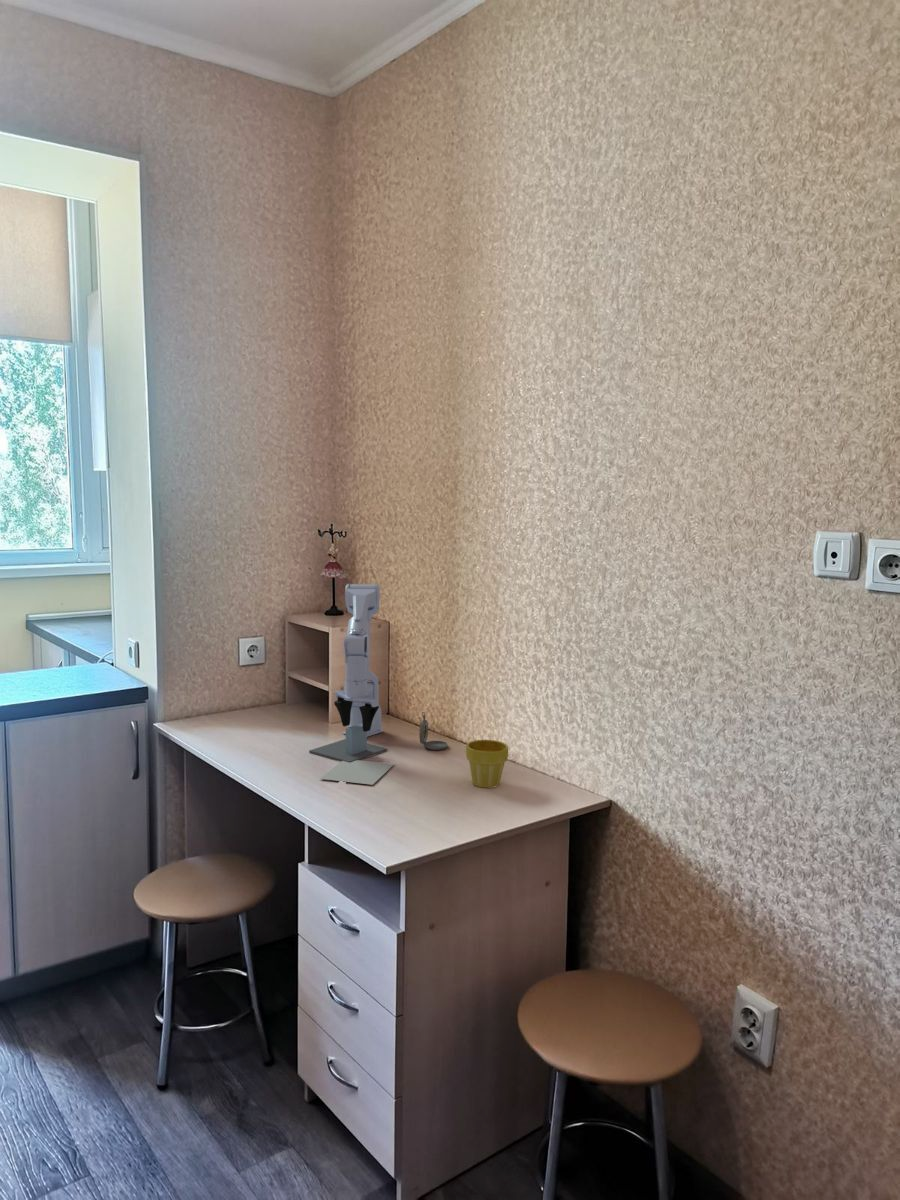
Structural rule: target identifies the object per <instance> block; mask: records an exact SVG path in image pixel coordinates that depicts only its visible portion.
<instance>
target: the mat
mask: <svg viewBox="0 0 900 1200" xmlns="http://www.w3.org/2000/svg"><path fill="white" fill-rule="evenodd" d="M386 750H387V751H388V747H383V746H380V745H376V744H371V743H368V742H367V750H365V751H362V752H359V753H356V754H353V755H350V754H346V738H344V739H341V740H338V741H334V742H332V743H331V742H330V743H329V744H326V745H321V746H319V747H315V748H313V749H310V750H309V751H308V752H309V754H312V753H313V755H316V756H321V757H324V758H328V759H330V760H334V759H335V760H334V761H337V760H338V762H341V761H346V762H352V761H355V760H361V759H362V760H364V759H367V758H369V756H370V757H372V755H373V756H375V755H374V754H376V755H378V754H380V752H381V753H383V751H384V752H386ZM377 753H378V754H377ZM363 758H364V759H363Z"/></svg>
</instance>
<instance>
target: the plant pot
mask: <svg viewBox="0 0 900 1200" xmlns="http://www.w3.org/2000/svg"><path fill="white" fill-rule="evenodd" d="M465 754H466V755H465V757H466V760H467V761H468V762H469V764H468V765H469V769H470V776H471V781H472V784H473V785H474V786H475V785H476V786H475V787H477V786H479V787H478V788H481V787H493V788H495V787H494V786H497V785H498V786H499V785H500V783H501V779H502V774H503V772H504V771H503V770H504V767H505V763H506V762H508V758H509V746H508V745H507V743H505V742H503V741H500V740H499V741H498V740H493V739H476V740H475V739H474V740H472V741H469V742H468V743H467V744H466V748H465ZM498 786H497V787H498Z"/></svg>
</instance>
